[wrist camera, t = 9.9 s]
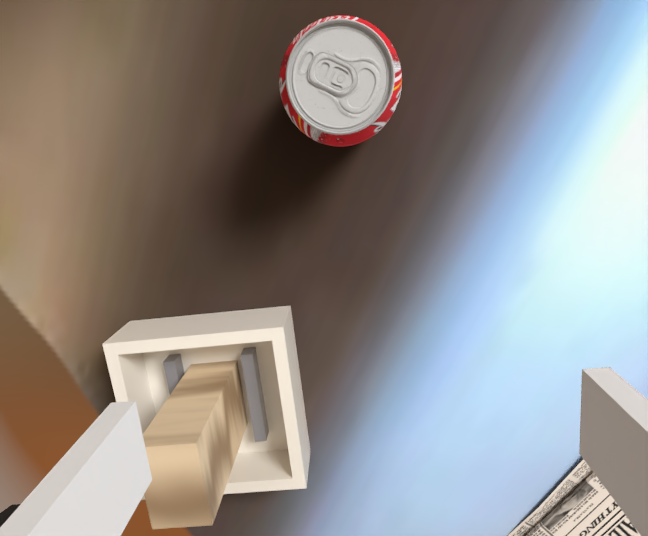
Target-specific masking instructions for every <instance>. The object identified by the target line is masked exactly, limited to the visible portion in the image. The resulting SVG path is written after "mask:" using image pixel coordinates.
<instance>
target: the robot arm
mask: <svg viewBox="0 0 648 536" xmlns="http://www.w3.org/2000/svg"><path fill="white" fill-rule="evenodd" d="M579 454H580V455H581V456H582V458H583V459H584V460H585V462H586V463H587V464H588V466H589V467H590V468H591V470H592V471H593V472H594V474H595V475H596V476H597V478H598V479H599V480H600V482H601V483H602V484H603V486H604V487H605V488H606V490H607V491H608V492H609V494H610V495H611V496H612V497H613V499H614V500H615V501H616V503H617V504H618V505H619V507H620V508H621V509H622V511H623V512H624V513H625V515H626V516H627V517H628V519H629V520H630V521H631V523H632V524H633V525H634V527H635V528H636V529H637V531H638V532H639V533H640V535H641V536H648V399H646V398H645V397H644V396H643V395H642V394H641V393H639V392H638V391H637V390H636V389H635V388H634V387H632V386H631V385H630V384H629V383H628V382H627V381H625V380H624V379H623V378H622V377H621V376H619V375H618V374H617V373H616V372H615V371H614V370H612V369H611V368H610V367H606V368H592V369H582V389H581V421H580V453H579ZM151 481H152V476H151V471H150V467H149V462H148V457H147V452H146V448H145V443H144V438H143V434H142V429H141V424H140V420H139V415H138V410H137V406H136V401H129V402H115V403H110V404H109V406H108V407H107V408H106V409H105V410H104V411H103V412H102V413H101V415H100V416H99V417H98V418H97V419H96V420H95V421H94V423H93V424H92V425H91V426H90V427H89V428H88V429H87V431H86V432H85V433H84V434H83V435H82V436H81V437H80V438H79V439H78V440H77V442H76V443H75V444H74V445H73V446H72V447H71V448H70V449H69V451H68V452H67V453H66V454H65V455H64V456H63V458H62V459H61V460H60V461H59V462H58V463H57V464H56V465H55V467H54V468H53V469H52V470H51V471H50V472H49V473H48V474H47V475H46V477H45V478H44V479H43V480H42V481H41V482H40V483H39V484H38V486H37V487H36V488H35V489H34V490H33V491H32V492H31V493H30V495H29V496H28V497H27V498H26V499H25V500H24V501H23V502H22V504H18V505H11V506H10V507H8V508H7V509H5V510H4V511H3V512H1V513H0V536H121V534H122V532H123V531H124V529H125V527H126V525H127V523H128V522H129V520H130V518H131V516H132V515H133V513H134V511H135V509H136V508H137V506H138V504H139V502H140V500H141V499H142V497H143V495H144V493H145V492H146V490H147V488H148V486H149V485H150V483H151Z"/></svg>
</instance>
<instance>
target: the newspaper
mask: <svg viewBox="0 0 648 536" xmlns="http://www.w3.org/2000/svg"><path fill="white" fill-rule="evenodd" d="M508 536H641V535H640V533H639V532H638V531H637V529H636V528H635V527H634V525H633V524H632V523H631V521H630V520H629V519H628V517H627V516H626V515H625V513H624V512H623V511H622V509H621V508H620V507H619V505H618V504H617V503H616V501H615V500H614V499H613V497H612V496H611V495H610V494H609V492H608V491H607V490H606V488H605V487H604V486H603V484H602V483H601V482H600V480H599V479H598V478H597V476H596V475H595V474H594V472H593V471H592V470H591V468H590V467H589V466H588V464H587V463H586V462H585V460H584V459H583V460H582V461H581V462H580V463H579V464H578V465H577V466H576V467H575V469H574V470H573V471H572V472H571V473H570V474H569V475H568V476H567V477H566V478H565V479H564V480H563V481H562V483H561V484H560V485H559V486H558V487H557V488H556V489H555V490H554V491H553V492H552V493H551V494H550V495H549V497H548V498H547V499H546V500H545V501H544V502H543V503H542V504H541V505H540V506H539V507H538V508H537V509H536V510H535V511H534V512H533V513H532V514H531V515H530V516H528V517H527V518H526V519H525V520H524V521H523V522H522V523H521V524H520V525H519V526H518V527H516V528H515V529H514V530H513V531H512V532H511V533H510V534H509V535H508Z"/></svg>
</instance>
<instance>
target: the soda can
mask: <svg viewBox="0 0 648 536" xmlns="http://www.w3.org/2000/svg"><path fill="white" fill-rule="evenodd" d="M279 87H280V95H281V99H282V102H283V105H284V108H285V110H286V112H287V114H288V116H289V117H290V119H291V120H292V122H293V123H294V124H295V125H296V126H297V127H298V128H299V130H300V131H301V132H303V133H304V134H305V135H306V136H308V137H309V138H311V139H313V140H314V141H316V142H319V143H322V144H324V145H329V146H335V147H345V146H352V145H355V144H359V143H361V142H363V141H366V140H368V139H369V138H371V137H372V136H374V135H375V134H377V133H378V132H379V131H380V130H381V129H382V128H383V127H384V126H385V124H386V123H387V122H388V121H389V119H390V118H391V116H392V114H393V113H394V111H395V109H396V106H397V104H398V101H399V98H400V93H401V87H402V73H401V66H400V62H399V58H398V56H397V53H396V51H395V49H394V47H393V45H392V44H391V42H390V41H389V39H388V38H387V37H386V36H385V35H384V33H383V32H381V31H380V30H379V29H378V28H377V27H376V26H374V25H372V24H371V23H369V22H367V21H365V20H363V19H360V18H357V17H352V16H345V15H337V16H330V17H326V18H323V19H320V20H317V21H315V22H314V23H312V24H310V25H308V26H307V27H306V28H304V29H303V30H302V31H301V32H300V33H299V34H298V35H297V36H296V37H295V38H294V40H293V41H292V42H291V44H290V45H289V47H288V49H287V51H286V53H285V55H284V58H283V61H282V64H281V69H280V75H279Z"/></svg>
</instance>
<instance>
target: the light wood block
mask: <svg viewBox="0 0 648 536" xmlns="http://www.w3.org/2000/svg"><path fill="white" fill-rule="evenodd" d="M247 424H248V421H247V415H246V409H245V403H244V397H243V391H242V385H241V379H240V373H239V368H238V362H237V360H233V361H221V362H210V363H199V364H191V365H190V367H189V368H188V370H187V371H186V373H185V374H184V376H183V377H182V378H181V380H180V381H179V383H178V384H177V386H176V387H175V389H174V390H173V391H172V393H171V394H170V396H169V397H168V399H167V400H166V402H165V403H164V404H163V406H162V407H161V409H160V410H159V412H158V413H157V415H156V416H155V417H154V419H153V420H152V422H151V423H150V425H149V426H148V428H147V429H146V430H145V432H144V433H143V438H144V443H145V448H146V452H147V457H148V462H149V467H150V471H151V476H152V481H151V483H150V485H149V486H148V488H147V490H146V492H145V493H144V496H145V500H146V504H147V509H148V513H149V517H150V522H151V525H152V529H163V528H177V527H192V526H207V525H213V522H214V520H215V517H216V514H217V511H218V508H219V505H220V502H221V499H222V496H223V493H224V491H225V488H226V485H227V482H228V479H229V476H230V473H231V470H232V467H233V465H234V462H235V459H236V456H237V453H238V450H239V447H240V444H241V441H242V438H243V436H244V433H245V430H246V427H247Z"/></svg>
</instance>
